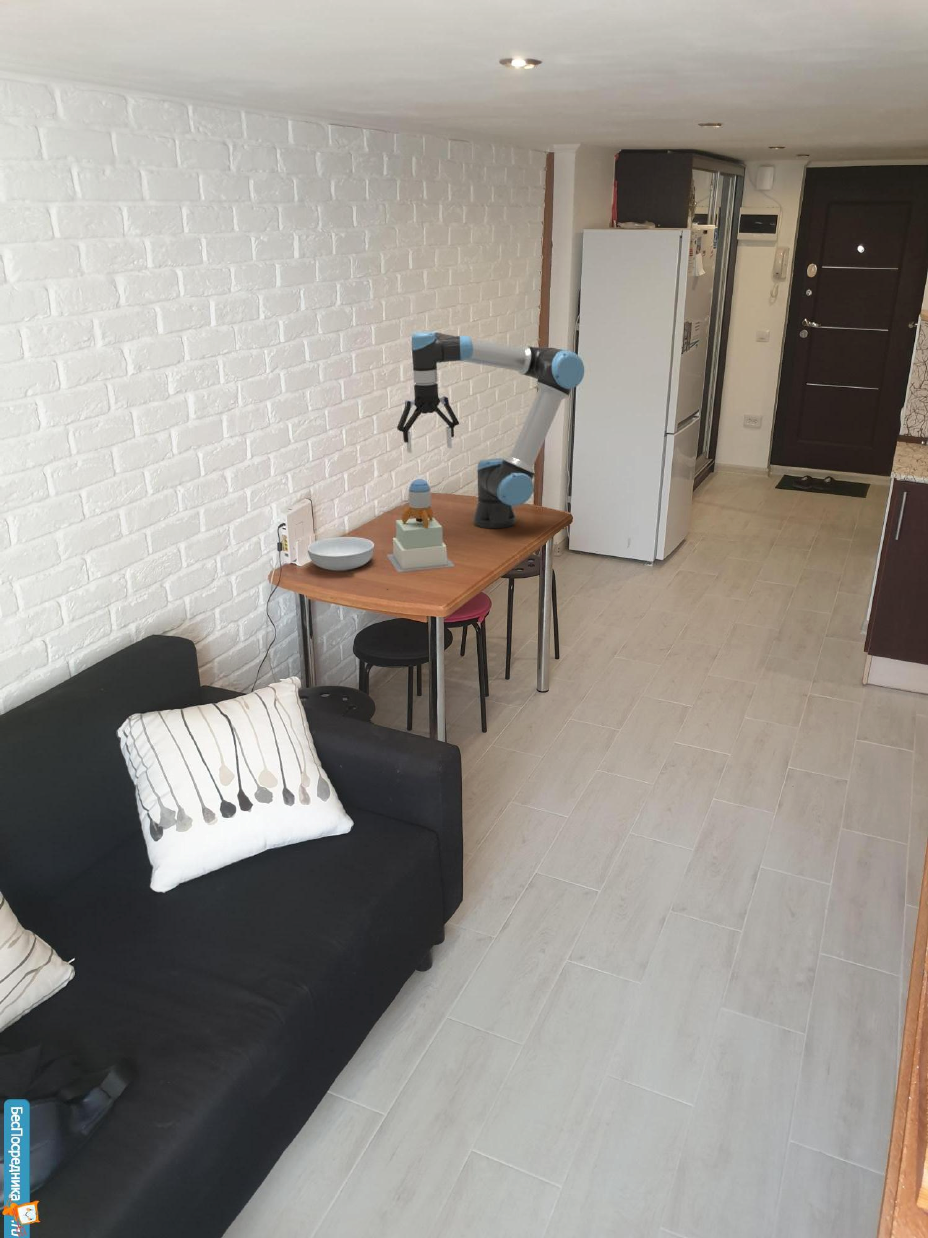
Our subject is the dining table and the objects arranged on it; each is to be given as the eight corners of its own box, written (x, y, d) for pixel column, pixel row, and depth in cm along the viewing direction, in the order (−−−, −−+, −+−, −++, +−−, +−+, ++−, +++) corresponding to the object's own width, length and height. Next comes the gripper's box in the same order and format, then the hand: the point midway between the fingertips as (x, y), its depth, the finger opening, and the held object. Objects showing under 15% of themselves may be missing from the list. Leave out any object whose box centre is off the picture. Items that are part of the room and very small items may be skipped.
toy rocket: (434, 531, 290) (423, 486, 283) (401, 536, 293) (389, 491, 286) (440, 517, 299) (429, 473, 292) (408, 522, 302) (396, 478, 295)
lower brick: (435, 551, 308) (435, 533, 306) (446, 564, 295) (446, 546, 293) (393, 555, 304) (392, 537, 302) (402, 569, 292) (402, 550, 290)
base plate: (440, 552, 311) (440, 549, 310) (454, 569, 294) (454, 565, 294) (386, 557, 306) (386, 554, 306) (398, 575, 290) (397, 571, 290)
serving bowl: (387, 560, 304) (386, 539, 301) (354, 580, 286) (352, 559, 283) (331, 553, 312) (329, 533, 309) (295, 572, 294) (293, 551, 292)
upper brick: (433, 534, 304) (432, 516, 302) (442, 545, 294) (442, 526, 292) (396, 538, 301) (395, 520, 299) (404, 549, 291) (404, 530, 289)
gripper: (459, 378, 307) (462, 443, 315) (384, 385, 300) (389, 451, 308) (466, 381, 300) (469, 447, 308) (390, 388, 293) (395, 456, 301)
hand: (429, 449), depth 308 cm, fingers open, 13 cm apart
